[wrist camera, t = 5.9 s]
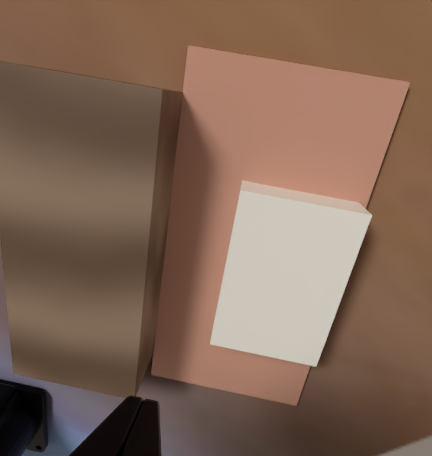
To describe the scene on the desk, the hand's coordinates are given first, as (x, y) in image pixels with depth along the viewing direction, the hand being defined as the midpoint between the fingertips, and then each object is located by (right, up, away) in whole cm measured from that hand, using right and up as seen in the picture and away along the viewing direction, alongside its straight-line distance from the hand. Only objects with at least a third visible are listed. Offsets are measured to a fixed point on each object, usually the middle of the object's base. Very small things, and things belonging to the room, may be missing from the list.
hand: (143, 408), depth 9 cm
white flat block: (+5, +2, +9) cm, 10 cm away
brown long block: (-4, +5, +10) cm, 12 cm away
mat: (+4, +3, +10) cm, 11 cm away
